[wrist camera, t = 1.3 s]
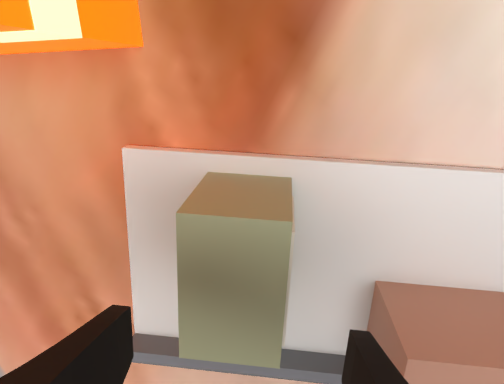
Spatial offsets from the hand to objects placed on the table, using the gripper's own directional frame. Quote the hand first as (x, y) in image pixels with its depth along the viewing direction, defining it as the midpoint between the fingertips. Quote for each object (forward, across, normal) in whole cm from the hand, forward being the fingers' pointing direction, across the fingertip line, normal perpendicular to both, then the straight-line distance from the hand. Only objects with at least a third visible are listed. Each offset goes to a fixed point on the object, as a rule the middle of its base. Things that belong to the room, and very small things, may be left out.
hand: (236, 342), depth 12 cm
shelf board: (+10, -3, +2) cm, 11 cm away
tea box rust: (+9, -10, +5) cm, 15 cm away
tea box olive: (+9, +1, 0) cm, 9 cm away
